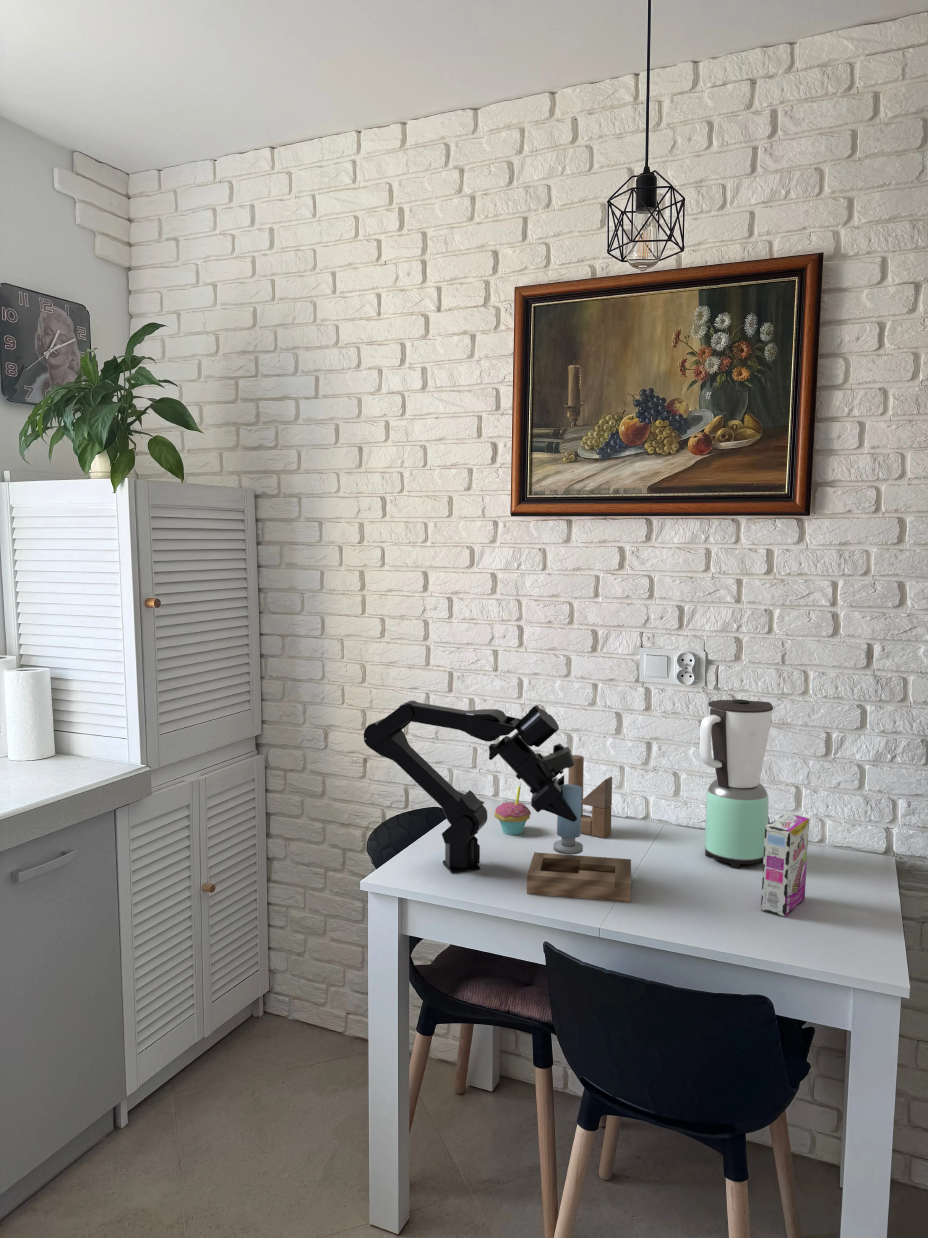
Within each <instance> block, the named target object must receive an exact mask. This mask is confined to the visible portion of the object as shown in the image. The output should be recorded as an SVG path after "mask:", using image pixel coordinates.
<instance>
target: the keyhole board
mask: <svg viewBox="0 0 928 1238" xmlns="http://www.w3.org/2000/svg"><path fill="white" fill-rule="evenodd" d="M631 893H632V859H631V858H620V857H619V858H618V857H617V858H616V857H606V856H604V857H603V856H591V855H590V856H589V855H579V854H573V855H568V854H561V853H550V852H538V851H537V852H536V851H535V852H533V856H532V858H531V861H530V864H529V868H528V871H527V874H526V894H527V895H536V896H548V897H549V896H550V897H551V896H552V897H560V896H561V898H573V899H574V898H575V899H586V900H600V901H609V900H610V902H621V901H624V903H631V901H632V899H631V897H632V894H631Z"/></svg>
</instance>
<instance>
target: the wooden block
mask: <svg viewBox="0 0 928 1238" xmlns="http://www.w3.org/2000/svg"><path fill="white" fill-rule="evenodd" d="M572 756H573V758H574V760H575V762H574V766H572V767H570V768H568V777H567V778H568V779H567V780H568V784H572V785H578V786H580V787H582V801H581V831H580V834H583V835H587V836H593V837H597V838H599V839H606V838H608V837H610V836H611V835H612V804H613V803H612V802H613V801H612V800H613V776H612V775H611V776H609V777H608V778H605V779H603V781H602V782H601V783H599V784H598V785H597V786H596V787H595V788H593V789H592V791H591V792H590V791H589V792H590V793H589V792H588V794H587V795H586V796H585V797H584V765H585V764H584V763H585V761H584V759H585V757H584V755H583V756H582V755H579V754H572ZM584 806H589V807H591V815H587V814H584Z"/></svg>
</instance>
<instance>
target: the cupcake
mask: <svg viewBox="0 0 928 1238" xmlns="http://www.w3.org/2000/svg"><path fill="white" fill-rule="evenodd" d="M521 789H522V788H521V783H520V784H519V786H517V790H516V791H517V792H516V798H515V801H508V802H507V801H506V802H502V803H500V804H499V805H497V806H496V808H495V810H494V817H495V818H496V819H497V820H498V821H499V824H500V826H501V829H502V832H503V833H504V834H506V835H510V836H512V835H513V836H515V835H516V836H517V835H521V834H522V833H523V832H524V828H525V826H526V823H527V821H528V820H530V816H531V815H532V812H531V810H530V808H529V807H527V806H526V804H523V803H521V802H520V801H519V800H520V796H521Z"/></svg>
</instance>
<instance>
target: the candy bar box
mask: <svg viewBox="0 0 928 1238" xmlns="http://www.w3.org/2000/svg"><path fill="white" fill-rule="evenodd" d="M809 825H810V818H809V817H804V816H800V815H797V814H796V815H795V814H789V813H784V814H783V815H781V816H779V817H778V818H776V819H774V820H773V821H770V823H769V824H768V825H766V826H765V840H764V859H763V863H762V864H763V865H762V866H763V867H762V880H761V881H762V883H761V901H760V902H761V903H760V911H763V912H766V913H769V914H772V915H776V916H779V917H785V918H786V917H787V916H788V915H789V914H790V913H791V912H792V911H793V910H794V909H796V908H797V907H798V906H799V904H801V903H802V902H804V900H805V899H806V898H805V897H806V884H807V883H806V882H807V877H806V876H807V867H808V866H807V864H808V861H807V860H808V849H809V848H808V847H809V845H808V844H809V827H810V826H809Z"/></svg>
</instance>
